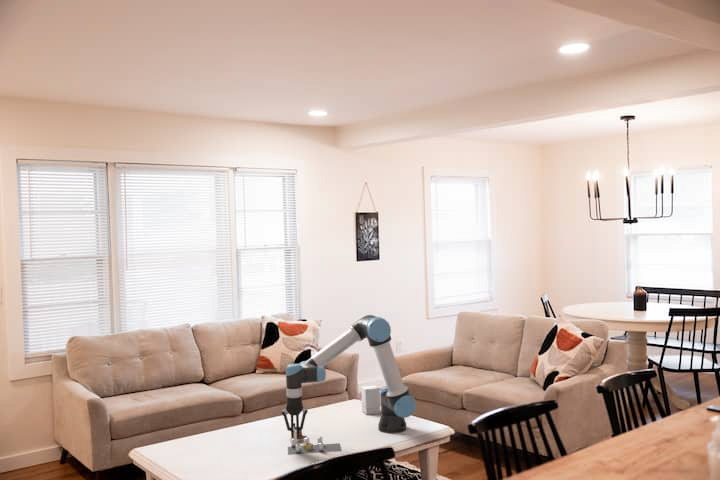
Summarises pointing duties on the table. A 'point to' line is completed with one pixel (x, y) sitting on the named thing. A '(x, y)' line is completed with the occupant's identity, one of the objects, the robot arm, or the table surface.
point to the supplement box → (370, 399)
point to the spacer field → (306, 440)
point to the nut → (308, 446)
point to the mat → (317, 449)
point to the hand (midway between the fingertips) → (295, 444)
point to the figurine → (299, 433)
